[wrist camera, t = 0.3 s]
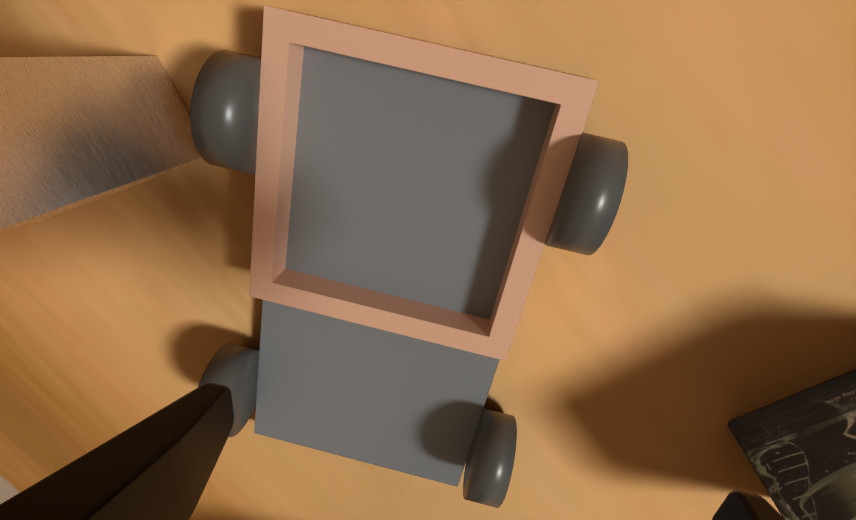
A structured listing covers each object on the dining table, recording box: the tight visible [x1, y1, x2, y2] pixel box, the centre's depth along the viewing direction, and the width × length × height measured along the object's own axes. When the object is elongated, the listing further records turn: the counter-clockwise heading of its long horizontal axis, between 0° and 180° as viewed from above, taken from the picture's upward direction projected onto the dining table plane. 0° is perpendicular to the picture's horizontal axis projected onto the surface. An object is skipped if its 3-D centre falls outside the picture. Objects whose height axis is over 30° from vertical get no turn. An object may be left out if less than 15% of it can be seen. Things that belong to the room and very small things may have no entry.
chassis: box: [190, 6, 628, 508], centre depth 21 cm, size 22×15×4 cm
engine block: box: [0, 56, 202, 236], centre depth 16 cm, size 4×4×12 cm
